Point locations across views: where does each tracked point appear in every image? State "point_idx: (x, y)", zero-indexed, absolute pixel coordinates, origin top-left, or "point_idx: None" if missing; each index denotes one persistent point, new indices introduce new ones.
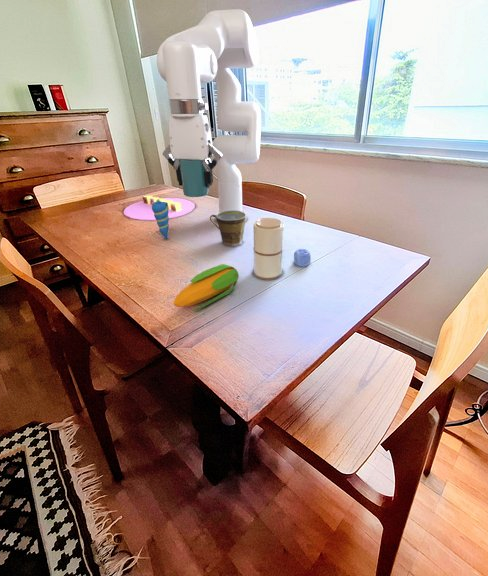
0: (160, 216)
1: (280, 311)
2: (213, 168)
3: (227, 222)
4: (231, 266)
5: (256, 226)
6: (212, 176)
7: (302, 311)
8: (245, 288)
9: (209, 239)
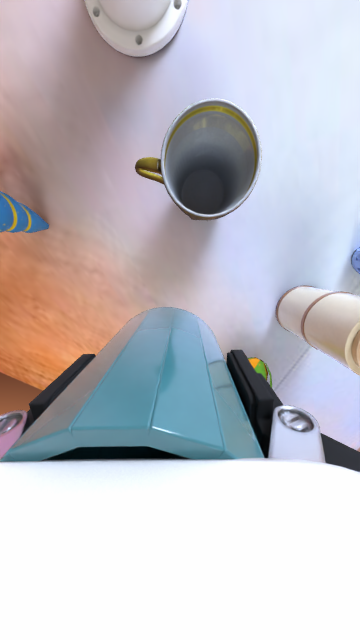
0: (2, 230)
1: (324, 395)
2: (305, 411)
3: (213, 218)
4: (262, 374)
5: (354, 365)
6: (271, 392)
7: (352, 389)
8: (271, 361)
9: (141, 193)
